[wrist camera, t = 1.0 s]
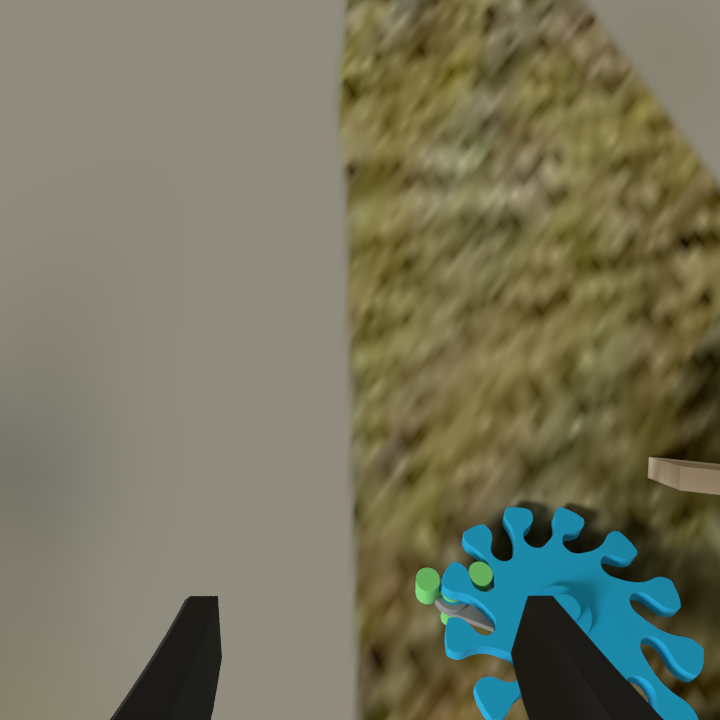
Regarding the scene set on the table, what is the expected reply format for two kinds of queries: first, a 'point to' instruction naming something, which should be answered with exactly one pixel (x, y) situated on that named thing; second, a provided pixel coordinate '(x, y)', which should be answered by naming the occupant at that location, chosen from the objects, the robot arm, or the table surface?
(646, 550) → the table surface
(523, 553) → the gear
